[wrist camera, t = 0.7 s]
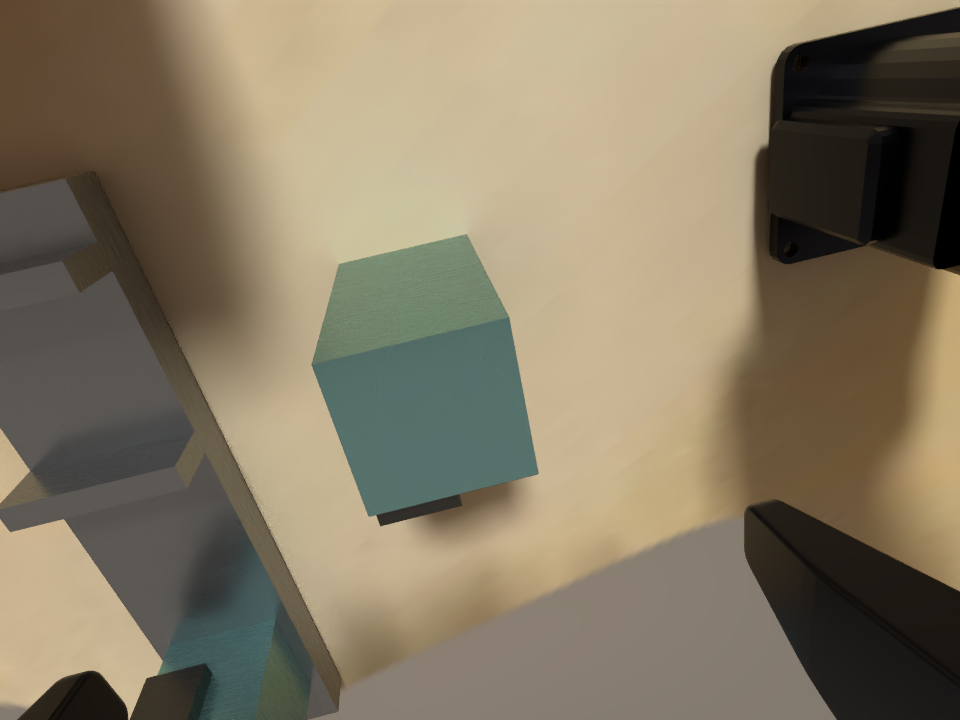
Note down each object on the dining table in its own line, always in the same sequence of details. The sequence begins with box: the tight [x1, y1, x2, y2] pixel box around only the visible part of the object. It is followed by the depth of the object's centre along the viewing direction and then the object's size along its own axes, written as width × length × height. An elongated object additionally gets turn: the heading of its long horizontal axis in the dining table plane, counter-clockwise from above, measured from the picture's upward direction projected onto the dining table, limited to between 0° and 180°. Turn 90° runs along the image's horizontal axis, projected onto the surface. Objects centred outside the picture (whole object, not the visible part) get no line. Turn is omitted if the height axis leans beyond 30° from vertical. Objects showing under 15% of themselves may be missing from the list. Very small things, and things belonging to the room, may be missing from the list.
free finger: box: [312, 234, 538, 526], centre depth 15 cm, size 4×5×7 cm
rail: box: [0, 171, 341, 720], centre depth 16 cm, size 5×22×8 cm, turn 11°
